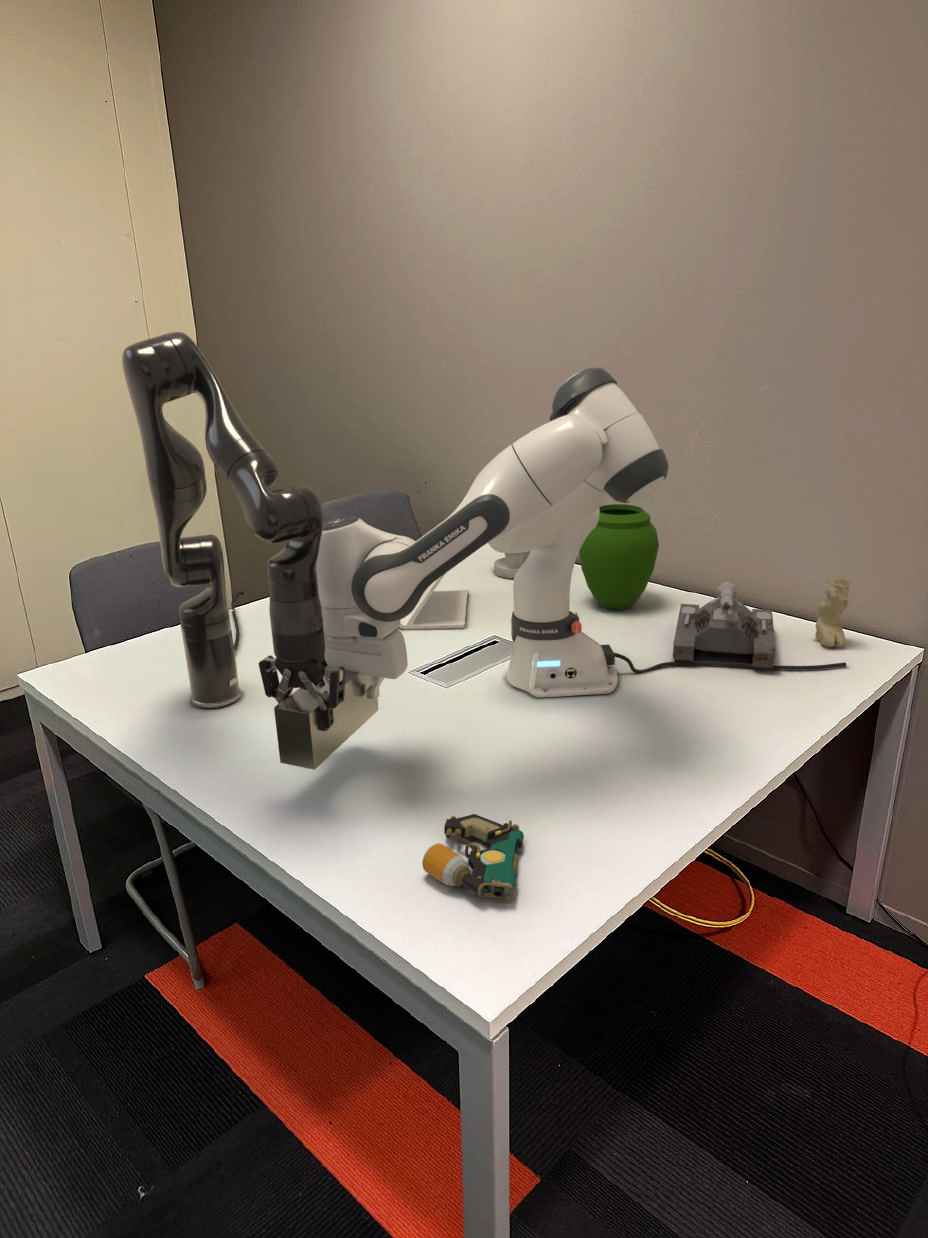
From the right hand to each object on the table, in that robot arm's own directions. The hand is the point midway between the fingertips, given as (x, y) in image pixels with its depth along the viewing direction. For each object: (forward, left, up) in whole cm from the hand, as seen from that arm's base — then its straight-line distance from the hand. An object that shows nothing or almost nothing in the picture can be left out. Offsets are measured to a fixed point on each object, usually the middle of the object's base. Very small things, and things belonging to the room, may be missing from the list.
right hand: (351, 694), depth 143 cm
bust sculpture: (-23, -102, -12) cm, 106 cm away
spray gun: (-24, +28, -12) cm, 39 cm away
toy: (-69, -52, -12) cm, 88 cm away
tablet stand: (-1, -72, -12) cm, 73 cm away
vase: (-47, -79, -12) cm, 93 cm away
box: (+2, +6, -4) cm, 8 cm away
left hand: (+4, +13, +1) cm, 13 cm away
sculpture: (-92, -56, -12) cm, 109 cm away
